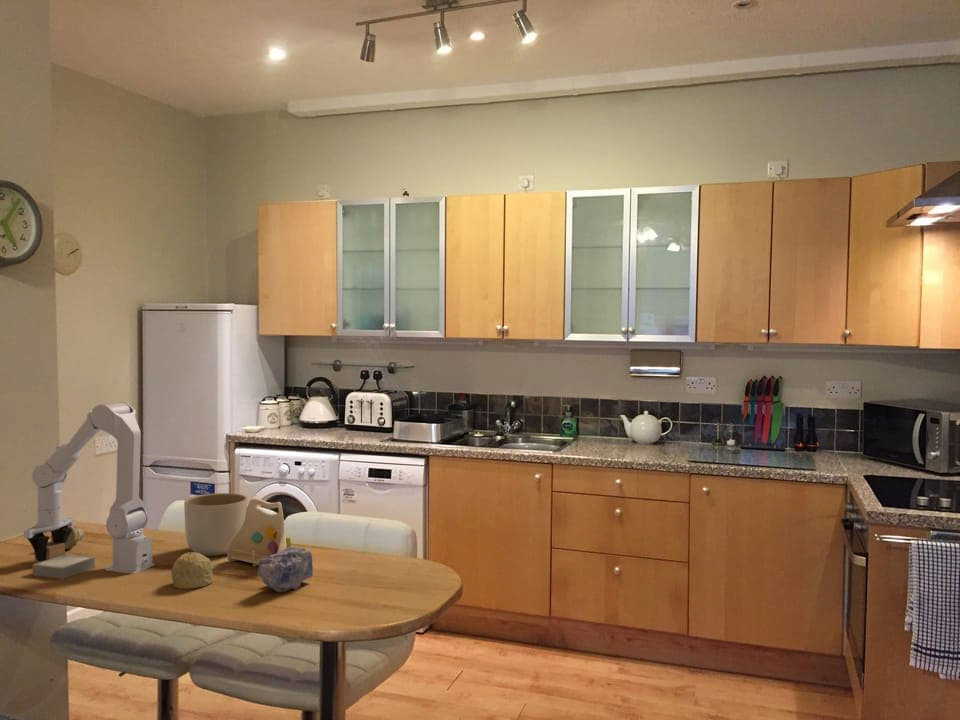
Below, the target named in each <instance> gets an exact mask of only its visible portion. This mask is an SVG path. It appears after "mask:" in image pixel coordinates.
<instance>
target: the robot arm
mask: <svg viewBox="0 0 960 720" xmlns="http://www.w3.org/2000/svg"><path fill="white" fill-rule="evenodd" d="M136 415H137V410H136V409H135V408H134V407H133V406H132V405H130V404H129V403H128V402H125V401H119V402H115V403H107V404H97V405H95V406H94V407H93V408H92V409H91V411H90V412H88V413H87V414H86V419H85V420H84V422H83V423H82V424H81V426H80V427H79V428H78V429H77V430H76V433H75V434H74V435H73V436H72V438H71V439H70V440H69V441H68V442H63V443H61V444H58V445H57V446H55V451H54V452H53V453H52V454H51V455H50V457H48V458H46V459H45V462H44V463H43V464H39V465H37V466H35V467H34V469H33V471H32V473H31V478H32V481H33V483H34V484H35V486H37V523H36V524H35V525H33V526H32V527H30V528H27V529H24V530H23V538H24V539H27V540H28V542H29V543H30V545H31V546H32V548H33V551H34V555H35V554H36V557H37V561H45V559H46V549H47V543H48V542H49V540H50V539H51V536H47V535H45V534H46V533H51V534H52V538H53V542H57V543H65V544H66V541H67V539H68V537H69V535H70V533H71V532H72V528H68V526H75V523H76V522H75V518H73V517H67V518H63V488H64V482H65V481H66V480H67V477H68V471H69V470H70V469H71V468H72V466H73V465H75V463H76V462H77V461H78V460H79V459H80V457H81V455H82V453H81V450H82V448H83V447H85V446H86V444H87V443H88V442H90V441H91V439H93V438H94V437H95V435H96V434H97V433H98V432H99V431H102V432H104V433H106V434H108V435H111V436H112V437H113V438H114V439H115V440H116V441H117V449H116V450H117V454H116V455H117V456H116V484H115V485H116V486H115V487H116V488H115V489H116V491H115V500H114V501H113V503H112V504H111V507H110V508H109V514H108V517H107V519H106V522H105V527H106V530H107V532H108V533H109V535H110V537H111V539H112V565H110V566H108V567H105V568H104V571H108V572H116V573H123V574H130V575H135V574H137V573H140V572H142V571H144V570H147V569H149V568H151V567H154V566H155V564H156V563H154V562H153V540H152V539H151V537H148V536H145V535H144V534H143V532H144V528H145V527H146V526H147V524H148V523H149V514H148V512H147V509H146V502H145V501H144V500H142V499H141V498H140V472H141V471H140V470H141V442H142V441H141V438H142V437H141V436H142V434H141V432H142V431H141V429H140V426H139V424H138V421H137V417H136Z"/></svg>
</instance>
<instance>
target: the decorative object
mask: <svg viewBox="0 0 960 720" xmlns="http://www.w3.org/2000/svg"><path fill="white" fill-rule="evenodd" d="M170 574H171V579H172V584H173V587H174V588H176V589H180V590H188V589H189V590H190V589H196V588H197V589H198V588H201V587H205V586H208V585H209V584H211V583H213V582H214V581H213V577H214V576H213V566H212V561H211V560H210V558H209V557H208V556H204V555H202V554H200V553H195V552H194V551H189V552H185V553H183V554H182V555H180V556H179V557H178V558H177V559H176V560H175V562H174V563H173V566H172V568H171V573H170Z"/></svg>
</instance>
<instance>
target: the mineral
mask: <svg viewBox="0 0 960 720" xmlns="http://www.w3.org/2000/svg"><path fill="white" fill-rule="evenodd" d="M256 574H257V576H259V577H260V580H261V582H262V583H264V584H265V585H267V586H268V587H269V588H271V589H273V590H274V591H275V592H277V593H282V592H283V593H284V592H287V591H289V590H297V589H299V588H300V586H301V584H302V582H304V581H306V580H307V579H311V578H313V576H314V570H313V555H312V552H311V550H306V549H305V547H298V546H297V547H296V546H291V547H289V548H286V549H285V550H283V551H281V552H279V553H276V554H274V555H271V556H269V557H268V558H267V559H264V558H263V559H261V560H260V561H259V564H258V566H257V573H256Z"/></svg>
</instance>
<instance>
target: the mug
mask: <svg viewBox="0 0 960 720" xmlns="http://www.w3.org/2000/svg"><path fill="white" fill-rule="evenodd" d="M68 528H72V532H71V533H70V535H69V537H68V539H67V541H66V544H65V550H68V549H71V548H72V547H75V546H76V545H77V543H78V542H80V541H82V540H83V539H84V537H85V531H84V529H82V528H79V527H77V526H75V525H73V526H68ZM50 542H53V538H52V534H51V536H50Z"/></svg>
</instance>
